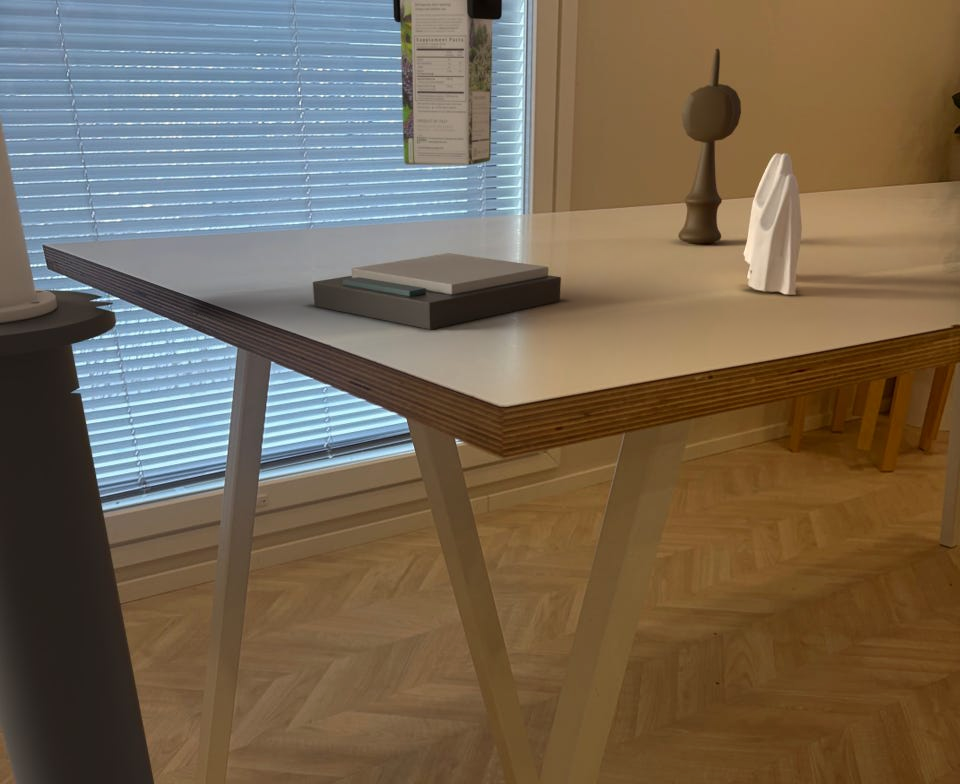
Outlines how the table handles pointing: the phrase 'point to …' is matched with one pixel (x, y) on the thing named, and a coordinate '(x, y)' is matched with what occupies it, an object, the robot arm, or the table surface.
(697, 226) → the kendama
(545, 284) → the scale
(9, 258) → the robot arm
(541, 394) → the table surface
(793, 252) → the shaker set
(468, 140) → the syrup box
